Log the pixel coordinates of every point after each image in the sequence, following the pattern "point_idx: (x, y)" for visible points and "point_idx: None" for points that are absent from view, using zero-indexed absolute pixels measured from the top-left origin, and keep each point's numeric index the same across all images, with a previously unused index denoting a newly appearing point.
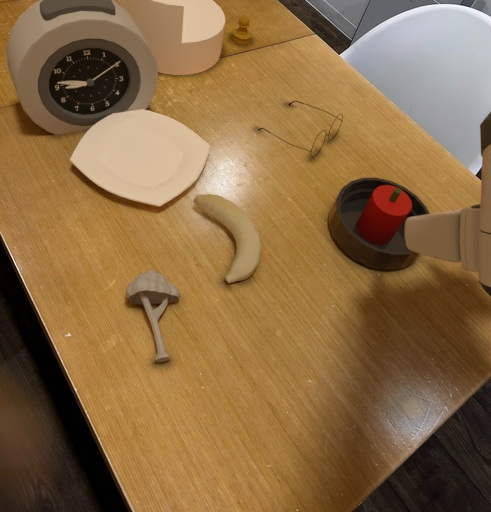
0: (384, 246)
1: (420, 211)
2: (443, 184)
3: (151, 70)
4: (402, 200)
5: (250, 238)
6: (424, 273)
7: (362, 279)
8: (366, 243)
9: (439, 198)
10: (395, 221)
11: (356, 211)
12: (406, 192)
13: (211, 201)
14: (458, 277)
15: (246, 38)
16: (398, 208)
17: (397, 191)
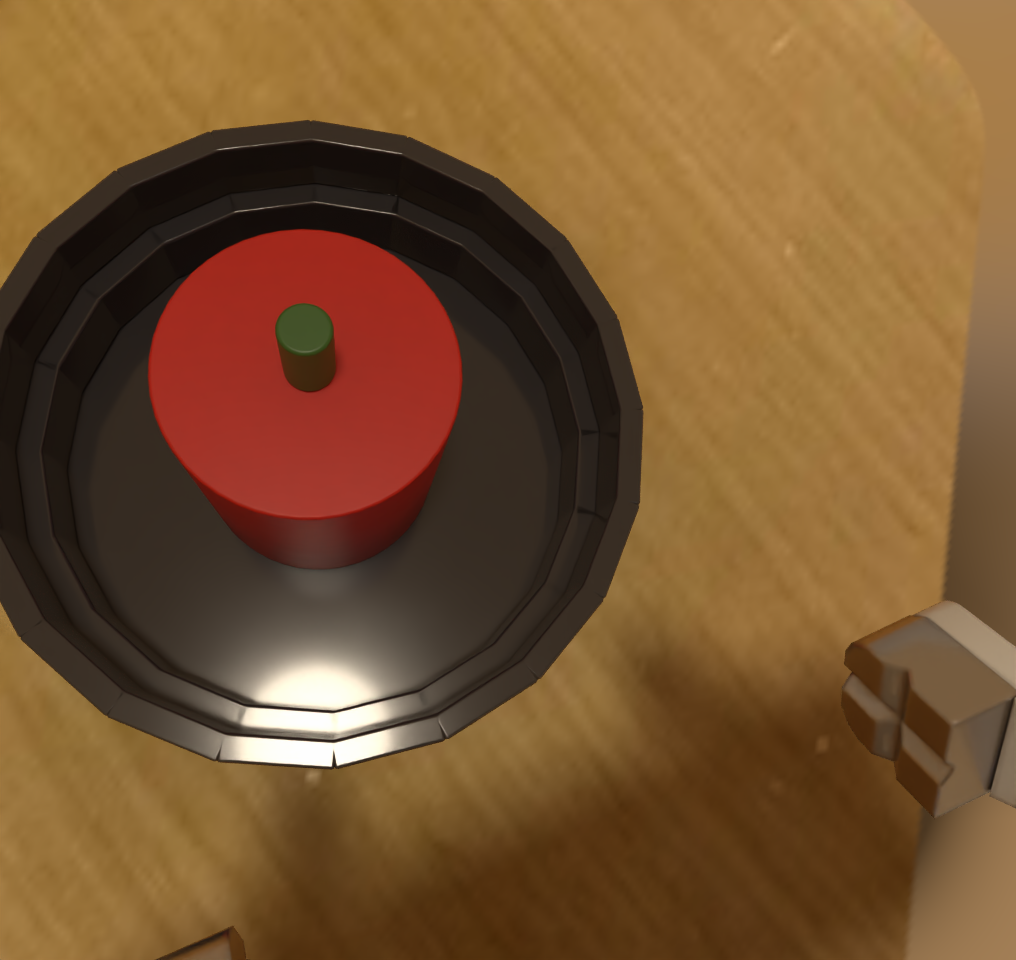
0: (366, 576)
1: (586, 338)
2: (772, 82)
3: None
4: (390, 362)
5: None
6: (594, 711)
7: (202, 835)
8: (135, 708)
9: (740, 177)
10: (341, 528)
11: None
12: (502, 214)
13: None
14: (784, 701)
15: None
16: (344, 446)
17: (295, 339)
